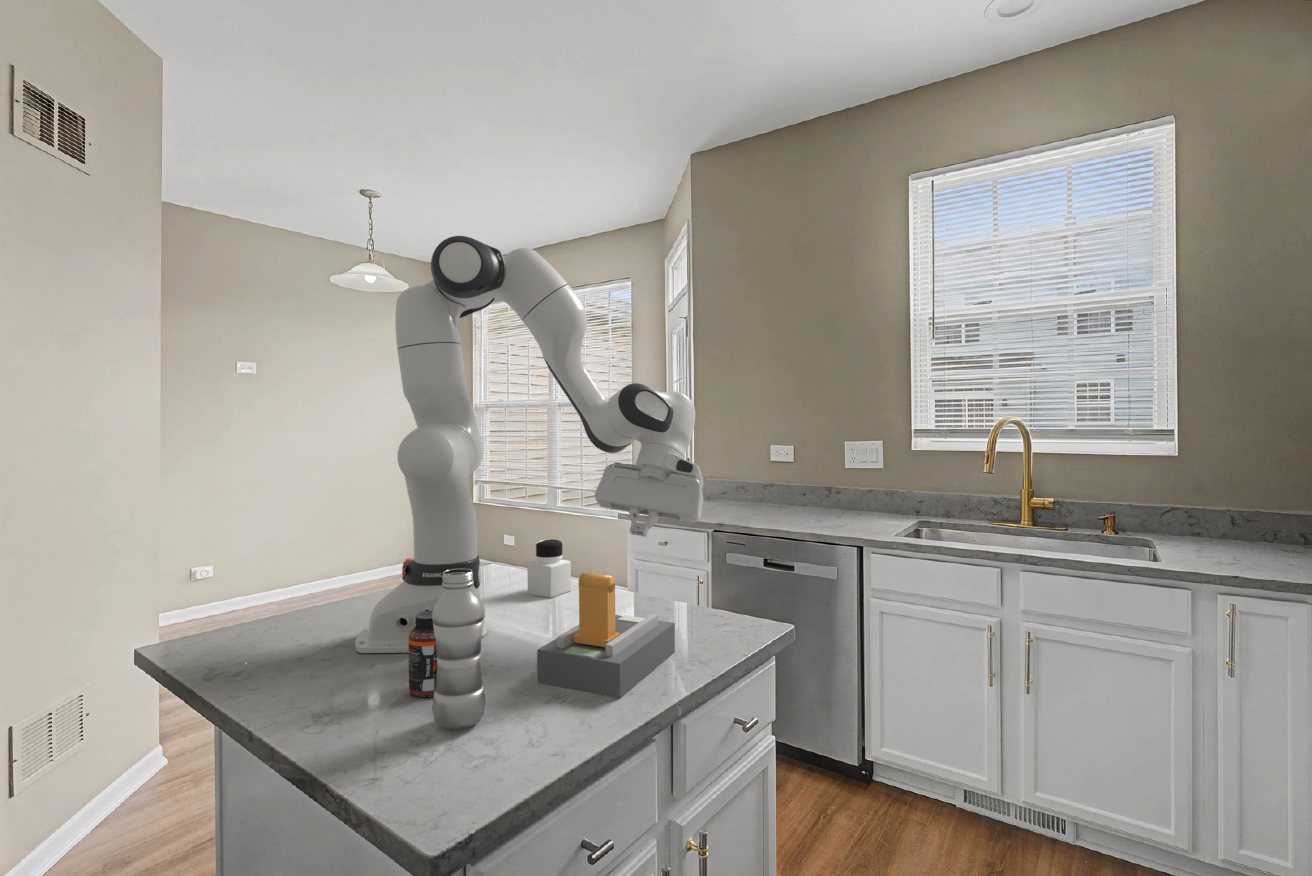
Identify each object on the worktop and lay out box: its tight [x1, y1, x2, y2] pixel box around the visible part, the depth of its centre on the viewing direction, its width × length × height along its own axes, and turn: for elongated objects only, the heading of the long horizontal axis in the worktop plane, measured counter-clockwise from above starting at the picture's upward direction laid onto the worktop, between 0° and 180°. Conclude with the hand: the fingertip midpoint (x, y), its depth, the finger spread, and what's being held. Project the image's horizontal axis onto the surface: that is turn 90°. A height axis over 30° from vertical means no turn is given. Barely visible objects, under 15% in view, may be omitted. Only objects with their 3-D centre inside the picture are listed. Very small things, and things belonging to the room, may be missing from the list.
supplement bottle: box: [408, 611, 437, 698], centre depth 95 cm, size 6×6×11 cm
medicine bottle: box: [527, 538, 572, 599], centre depth 148 cm, size 7×7×12 cm
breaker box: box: [536, 614, 676, 699], centre depth 104 cm, size 20×14×7 cm
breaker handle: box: [574, 572, 621, 647], centre depth 100 cm, size 4×6×10 cm, turn 65°
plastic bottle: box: [431, 569, 487, 730], centre depth 84 cm, size 6×7×20 cm
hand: (637, 534), depth 117 cm, fingers closed
